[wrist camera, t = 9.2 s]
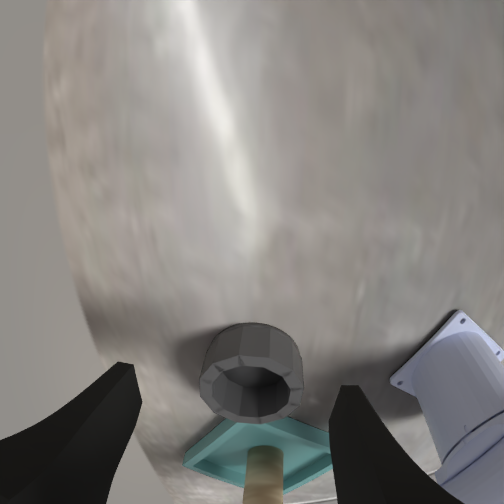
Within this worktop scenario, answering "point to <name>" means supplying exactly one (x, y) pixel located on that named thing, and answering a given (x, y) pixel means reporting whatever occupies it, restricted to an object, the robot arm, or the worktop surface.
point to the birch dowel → (264, 476)
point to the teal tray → (269, 434)
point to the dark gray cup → (252, 374)
